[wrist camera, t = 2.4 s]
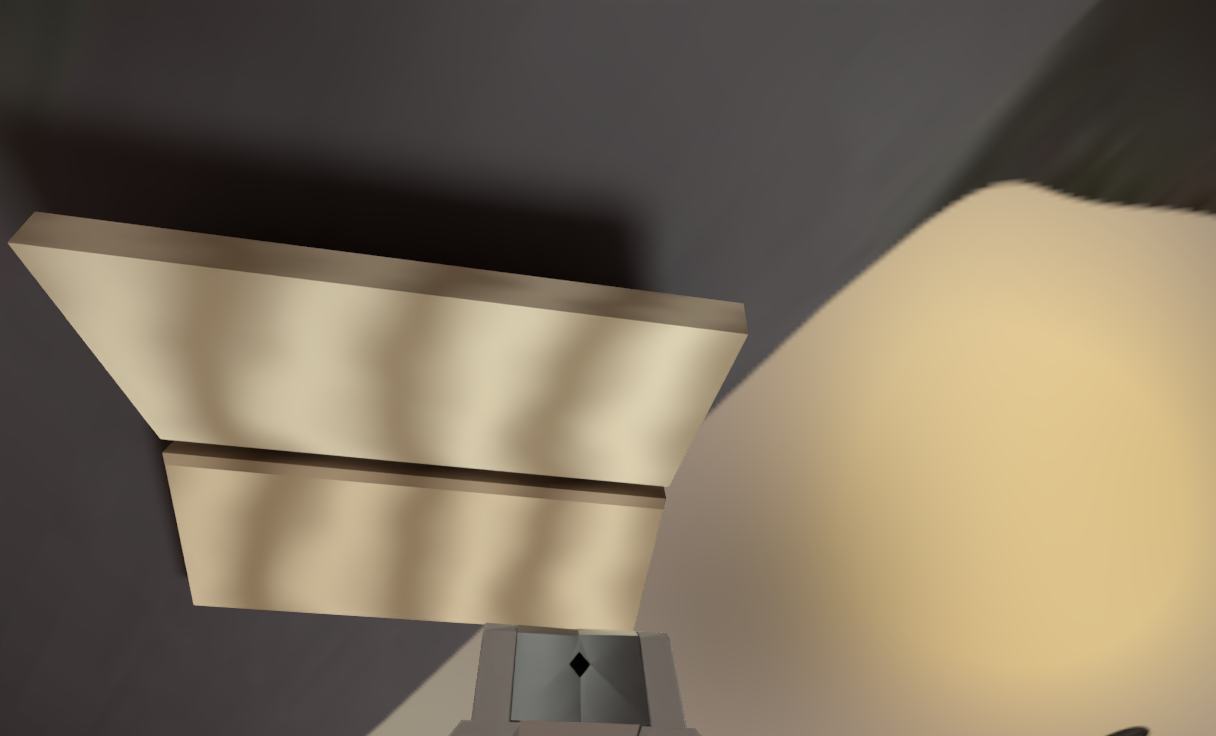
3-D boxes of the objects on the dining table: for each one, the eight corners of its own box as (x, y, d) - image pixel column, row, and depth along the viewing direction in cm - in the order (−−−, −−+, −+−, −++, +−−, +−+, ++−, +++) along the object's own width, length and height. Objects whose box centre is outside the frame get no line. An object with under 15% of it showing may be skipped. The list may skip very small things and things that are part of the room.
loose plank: (743, 303, 23) (748, 334, 22) (667, 460, 33) (668, 486, 32) (35, 211, 21) (7, 242, 20) (174, 411, 30) (160, 439, 29)
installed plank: (662, 478, 34) (666, 498, 32) (630, 611, 38) (632, 634, 37) (181, 433, 31) (162, 452, 29) (208, 582, 35) (193, 605, 34)
